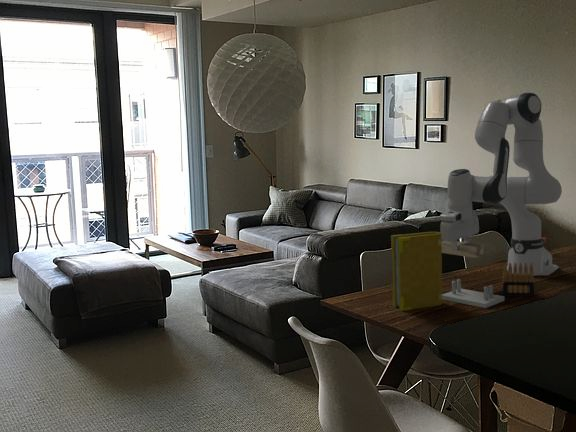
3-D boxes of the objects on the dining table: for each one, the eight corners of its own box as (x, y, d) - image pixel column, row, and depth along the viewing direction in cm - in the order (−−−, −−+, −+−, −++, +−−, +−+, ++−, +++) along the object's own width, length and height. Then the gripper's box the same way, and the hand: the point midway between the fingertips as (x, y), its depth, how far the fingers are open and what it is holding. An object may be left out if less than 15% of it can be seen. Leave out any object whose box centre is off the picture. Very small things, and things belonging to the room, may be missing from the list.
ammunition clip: (502, 295, 231) (502, 263, 230) (502, 294, 233) (502, 261, 231) (534, 296, 229) (534, 263, 227) (533, 294, 230) (533, 262, 229)
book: (401, 310, 219) (399, 238, 215) (393, 305, 225) (391, 235, 222) (446, 304, 224) (445, 233, 220) (436, 300, 230) (435, 230, 226)
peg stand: (460, 292, 239) (460, 276, 238) (504, 300, 225) (504, 283, 224) (440, 299, 231) (440, 282, 230) (485, 308, 217) (485, 290, 216)
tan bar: (446, 250, 251) (446, 240, 251) (483, 255, 239) (483, 244, 239) (439, 252, 248) (438, 242, 248) (475, 257, 236) (475, 247, 236)
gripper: (468, 208, 250) (469, 243, 253) (437, 216, 237) (437, 253, 239) (483, 209, 246) (483, 245, 248) (451, 217, 232) (452, 255, 235)
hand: (460, 249), depth 243 cm, fingers closed on tan bar, 5 cm apart
